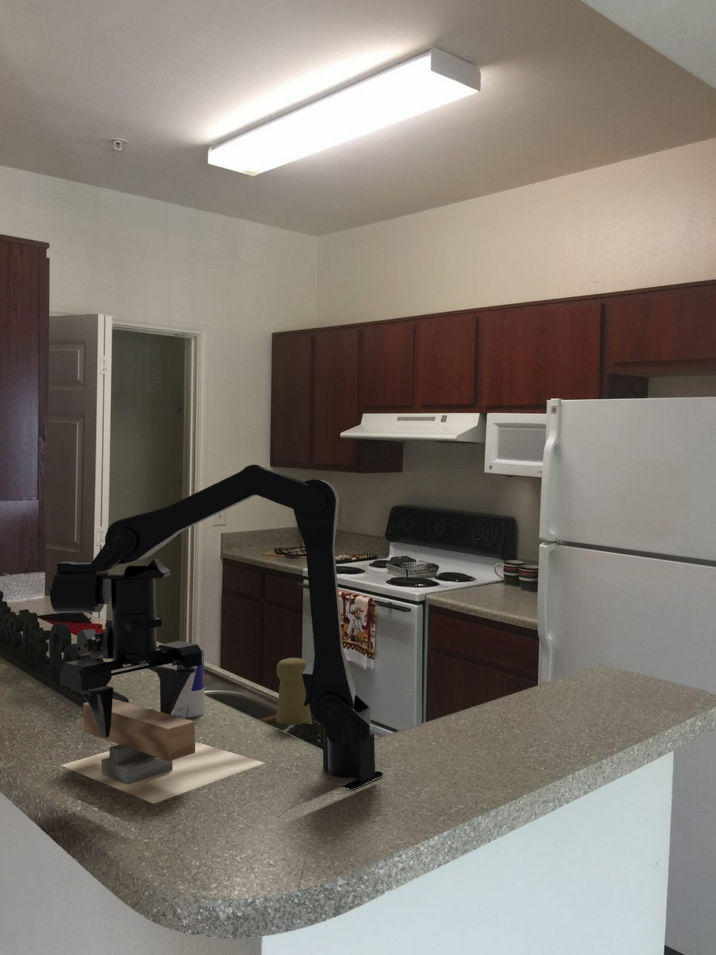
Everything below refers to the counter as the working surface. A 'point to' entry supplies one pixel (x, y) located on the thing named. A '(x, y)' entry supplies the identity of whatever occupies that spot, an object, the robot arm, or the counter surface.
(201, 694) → the energy drink
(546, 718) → the counter surface
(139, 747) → the walnut bar
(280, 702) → the cork
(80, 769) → the flat beige square board
